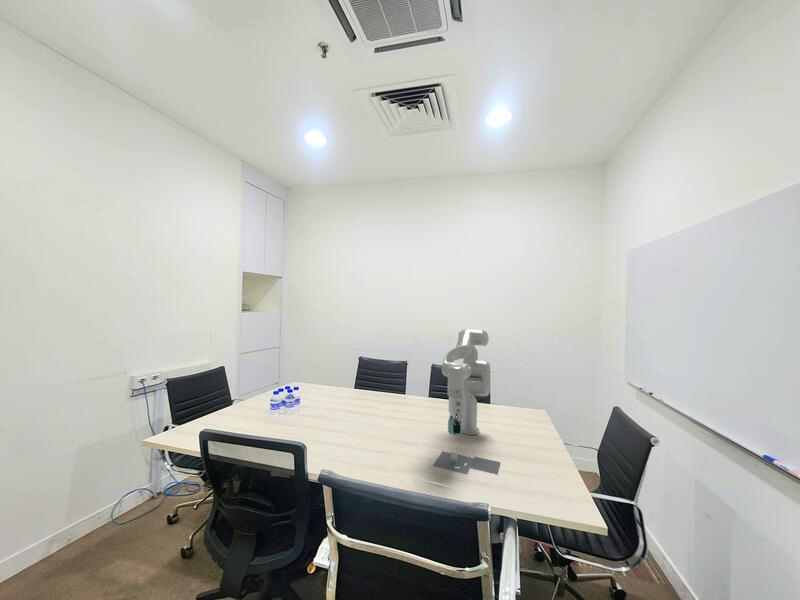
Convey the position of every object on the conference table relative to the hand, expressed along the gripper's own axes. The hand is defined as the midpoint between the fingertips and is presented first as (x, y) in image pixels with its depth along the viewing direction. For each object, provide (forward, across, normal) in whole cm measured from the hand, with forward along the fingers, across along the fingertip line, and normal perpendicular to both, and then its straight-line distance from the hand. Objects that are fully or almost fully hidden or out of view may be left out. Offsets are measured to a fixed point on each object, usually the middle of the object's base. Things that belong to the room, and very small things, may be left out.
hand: (454, 429), depth 147 cm
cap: (+1, 0, 0) cm, 1 cm away
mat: (+16, -4, -14) cm, 21 cm away
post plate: (+15, 0, 0) cm, 15 cm away
